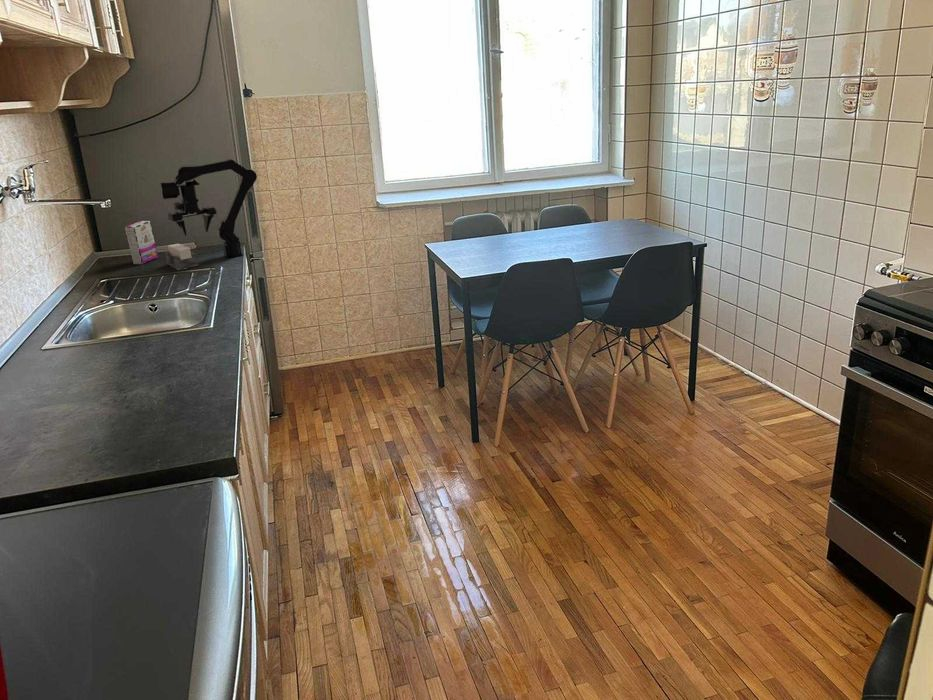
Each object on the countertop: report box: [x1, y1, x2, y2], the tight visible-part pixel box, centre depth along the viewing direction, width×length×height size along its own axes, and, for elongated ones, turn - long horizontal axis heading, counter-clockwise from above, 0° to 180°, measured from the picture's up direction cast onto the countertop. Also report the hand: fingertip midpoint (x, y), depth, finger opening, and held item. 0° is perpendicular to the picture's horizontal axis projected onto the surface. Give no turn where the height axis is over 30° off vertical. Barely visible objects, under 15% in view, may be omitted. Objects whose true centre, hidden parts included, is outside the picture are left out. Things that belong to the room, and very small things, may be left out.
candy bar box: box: [124, 220, 159, 265], centre depth 303 cm, size 11×5×16 cm, turn 167°
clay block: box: [167, 243, 192, 260], centre depth 295 cm, size 4×12×4 cm, turn 42°
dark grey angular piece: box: [164, 251, 199, 270], centre depth 296 cm, size 8×14×6 cm, turn 42°
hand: (196, 233), depth 300 cm, fingers open, 9 cm apart
